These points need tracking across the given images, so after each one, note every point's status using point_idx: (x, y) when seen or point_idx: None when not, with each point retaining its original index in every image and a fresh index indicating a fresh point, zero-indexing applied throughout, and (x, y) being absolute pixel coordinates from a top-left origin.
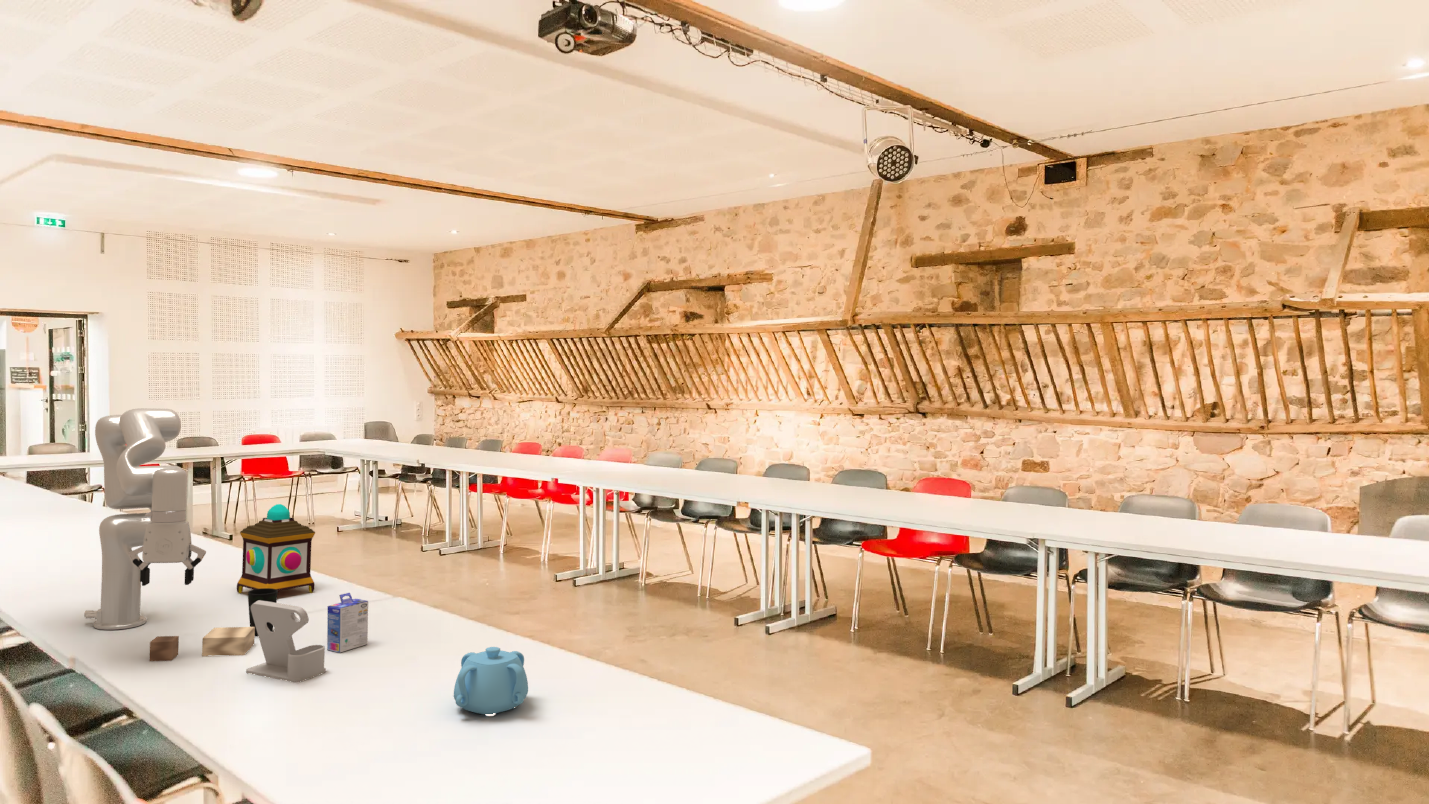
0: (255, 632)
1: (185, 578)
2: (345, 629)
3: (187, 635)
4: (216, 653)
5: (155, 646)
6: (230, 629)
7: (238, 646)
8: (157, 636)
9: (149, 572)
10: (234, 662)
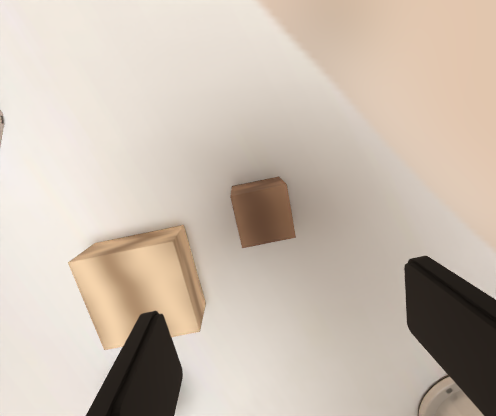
0: None
1: (138, 340)
2: None
3: (296, 358)
4: (151, 233)
5: (270, 185)
6: None
7: (96, 249)
8: (294, 236)
9: (466, 390)
10: (81, 187)
